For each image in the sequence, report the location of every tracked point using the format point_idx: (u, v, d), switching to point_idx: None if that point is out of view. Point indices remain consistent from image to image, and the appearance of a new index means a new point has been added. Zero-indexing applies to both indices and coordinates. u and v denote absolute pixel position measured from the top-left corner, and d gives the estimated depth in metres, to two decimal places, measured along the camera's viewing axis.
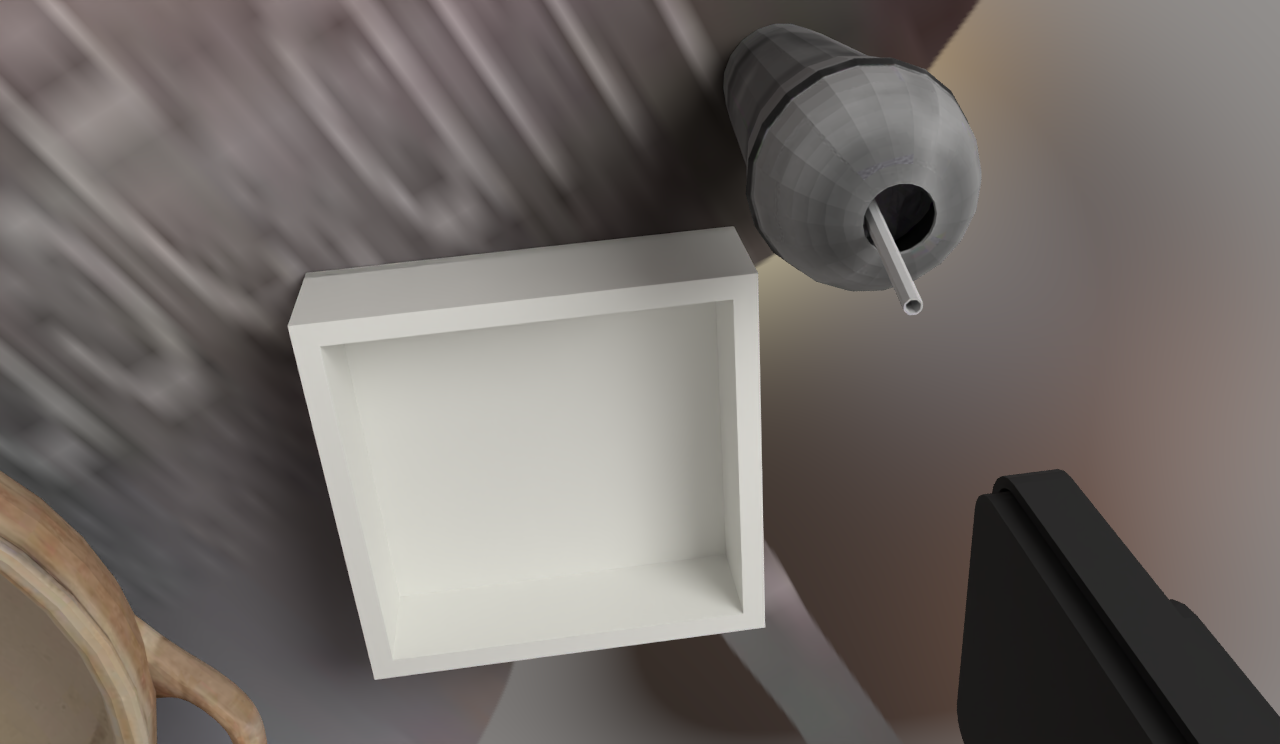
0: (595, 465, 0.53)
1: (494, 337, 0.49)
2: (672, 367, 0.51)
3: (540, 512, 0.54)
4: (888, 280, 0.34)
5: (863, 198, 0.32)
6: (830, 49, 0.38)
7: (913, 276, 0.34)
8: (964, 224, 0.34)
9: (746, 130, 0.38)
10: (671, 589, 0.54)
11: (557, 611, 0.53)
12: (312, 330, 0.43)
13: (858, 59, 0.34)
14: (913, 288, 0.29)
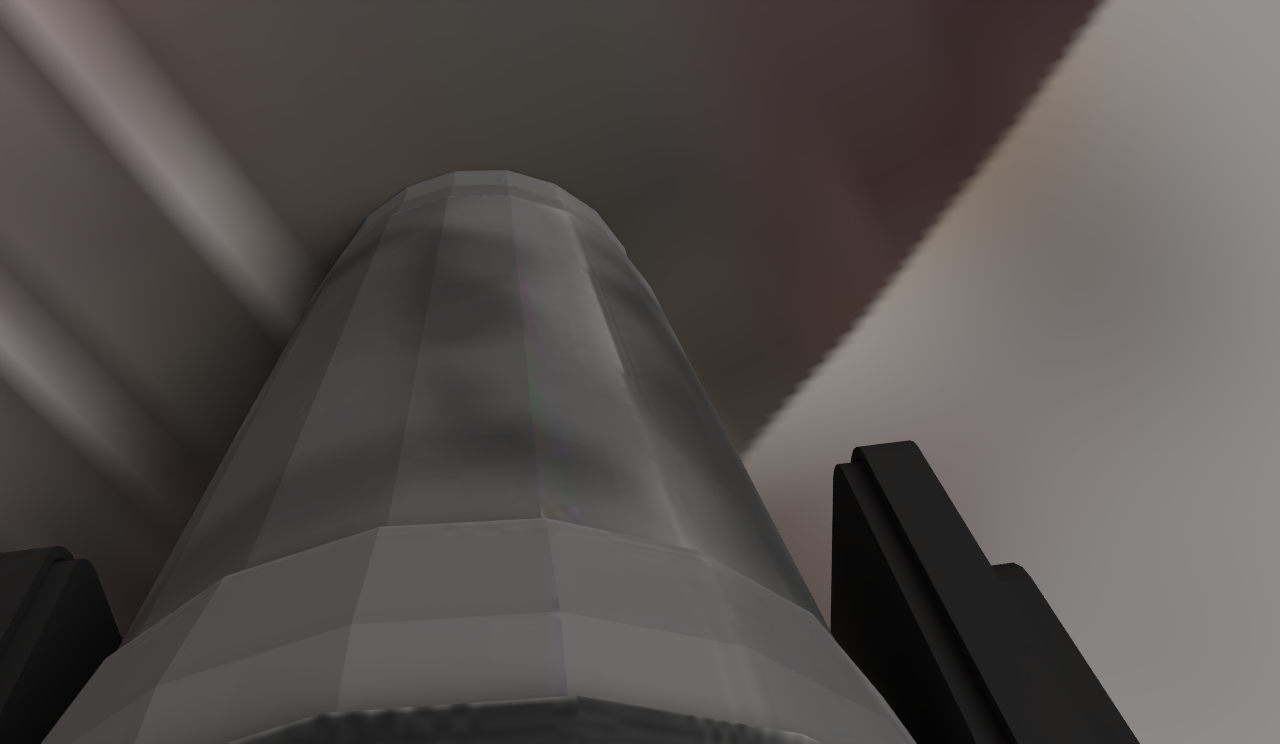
0: None
1: None
2: None
3: None
4: None
5: None
6: (455, 388, 0.09)
7: None
8: None
9: None
10: None
11: None
12: None
13: (341, 730, 0.05)
14: None
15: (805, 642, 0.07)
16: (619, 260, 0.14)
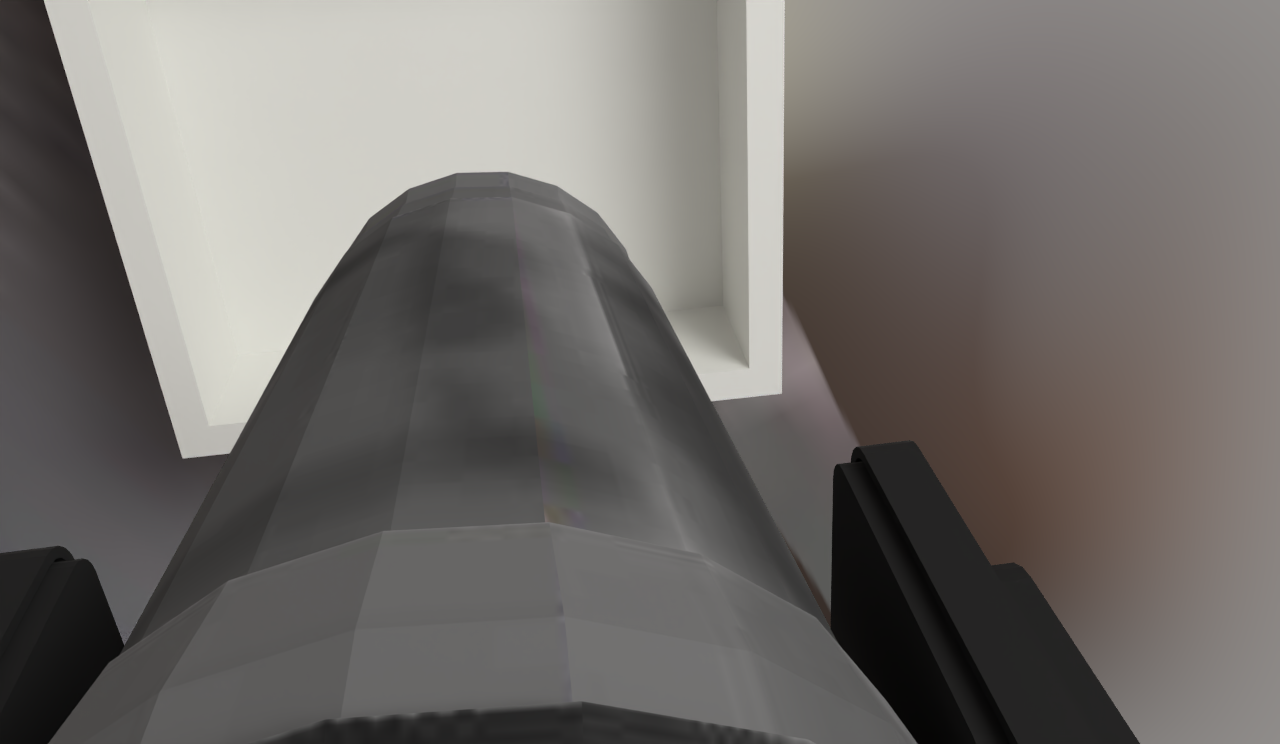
0: (526, 144, 0.35)
1: None
2: None
3: None
4: None
5: None
6: (458, 391, 0.09)
7: None
8: None
9: None
10: None
11: None
12: None
13: (346, 736, 0.05)
14: None
15: (809, 646, 0.07)
16: (621, 262, 0.14)
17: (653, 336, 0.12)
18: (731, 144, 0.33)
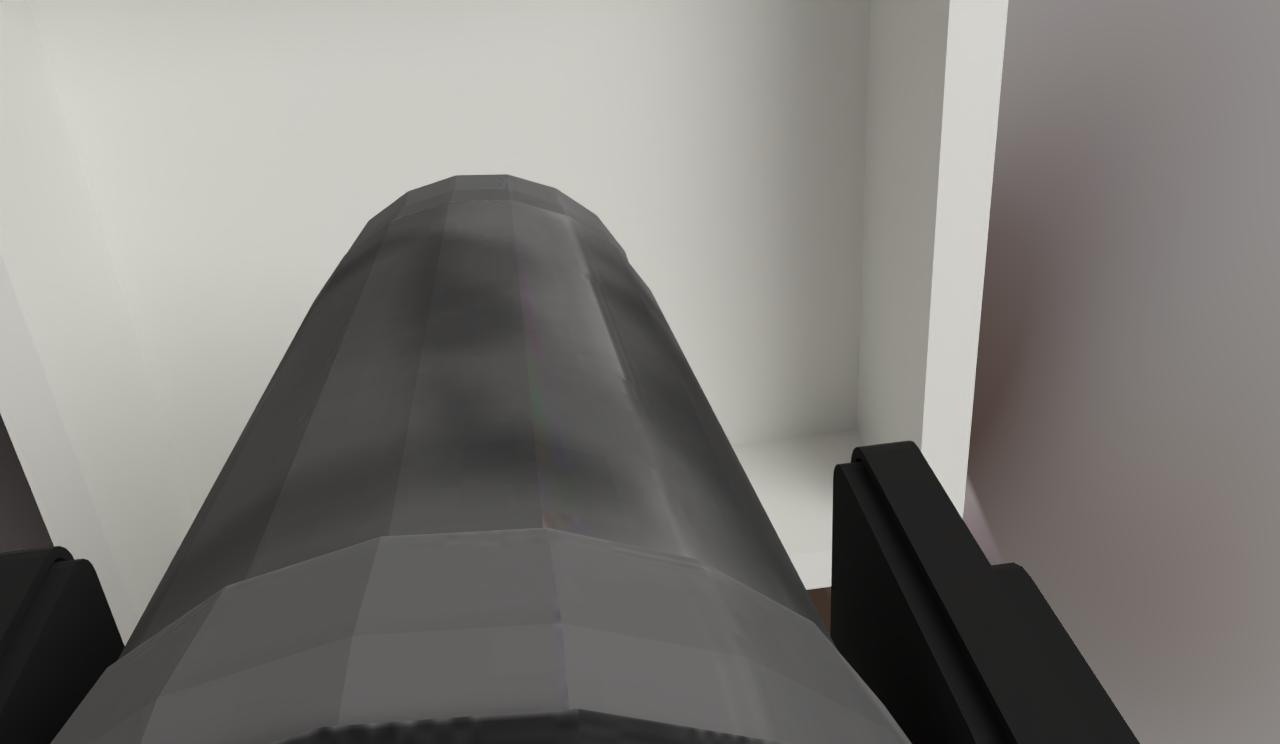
0: None
1: None
2: None
3: None
4: None
5: None
6: (456, 395, 0.09)
7: None
8: None
9: None
10: None
11: None
12: None
13: (343, 743, 0.05)
14: None
15: (806, 651, 0.07)
16: (620, 265, 0.14)
17: (652, 339, 0.12)
18: (892, 222, 0.23)
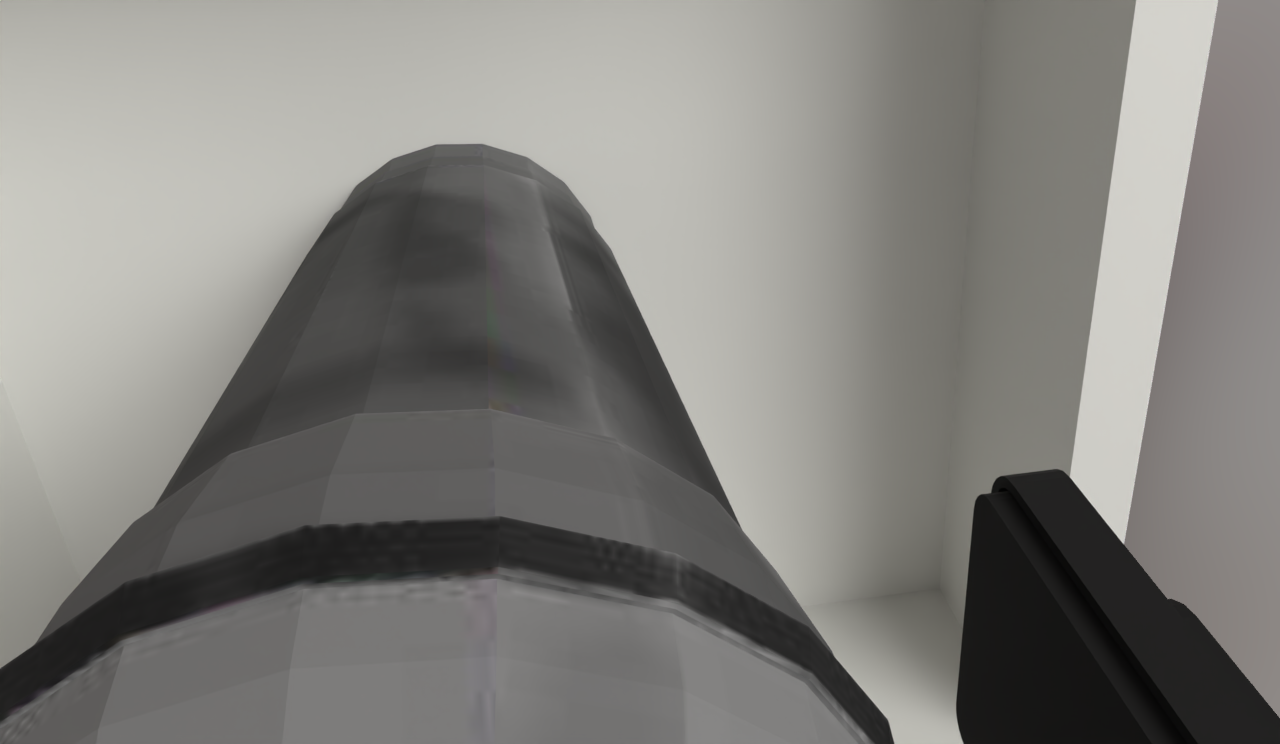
0: None
1: None
2: (850, 55, 0.17)
3: None
4: None
5: None
6: (424, 317, 0.11)
7: None
8: None
9: None
10: None
11: None
12: None
13: (320, 536, 0.07)
14: None
15: (699, 509, 0.09)
16: (580, 223, 0.16)
17: (602, 283, 0.14)
18: (1006, 364, 0.18)
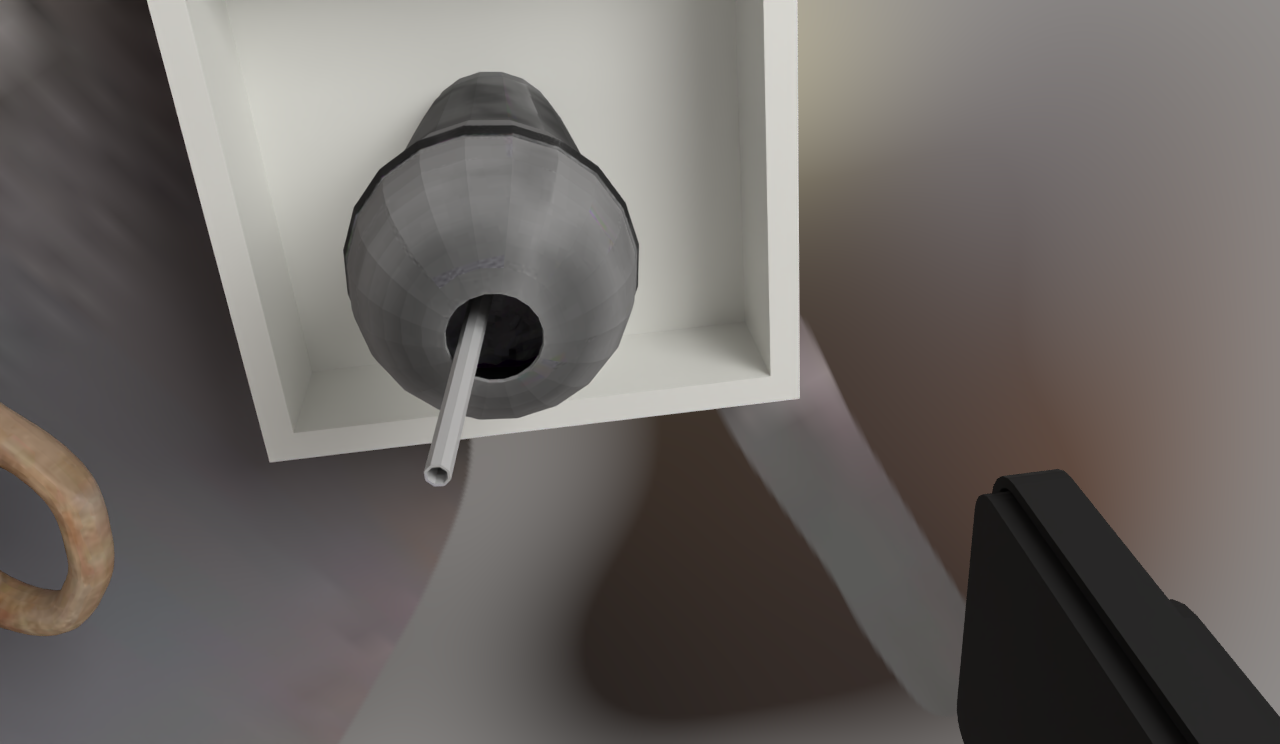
0: None
1: None
2: (673, 30, 0.37)
3: None
4: (505, 411, 0.26)
5: (441, 312, 0.24)
6: (485, 108, 0.30)
7: (540, 405, 0.27)
8: (597, 340, 0.26)
9: None
10: (673, 356, 0.40)
11: None
12: None
13: (467, 127, 0.26)
14: (446, 448, 0.21)
15: None
16: (545, 101, 0.35)
17: (552, 115, 0.33)
18: (751, 178, 0.38)
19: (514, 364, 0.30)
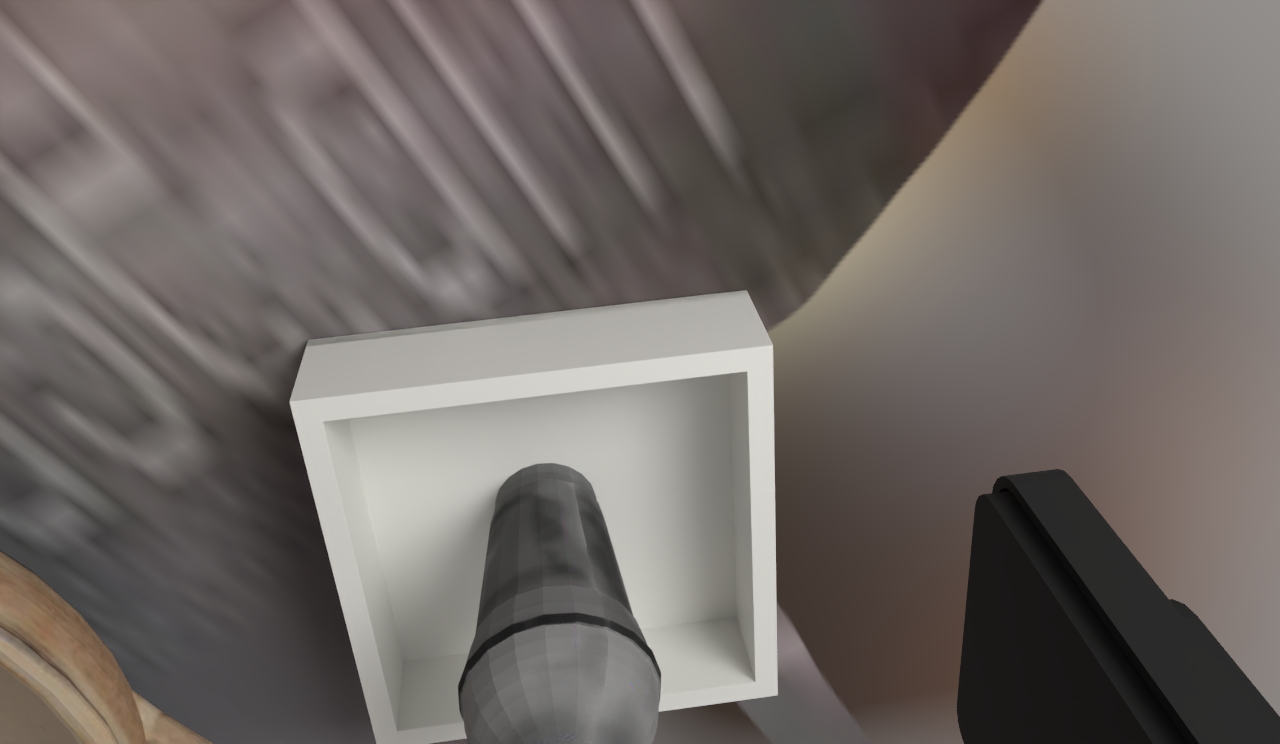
0: None
1: (501, 403, 0.48)
2: (683, 431, 0.50)
3: None
4: None
5: None
6: (550, 554, 0.43)
7: None
8: None
9: None
10: (681, 655, 0.53)
11: None
12: (314, 405, 0.42)
13: (546, 616, 0.39)
14: None
15: (615, 607, 0.41)
16: (588, 500, 0.48)
17: (595, 530, 0.46)
18: (741, 538, 0.50)
19: None
